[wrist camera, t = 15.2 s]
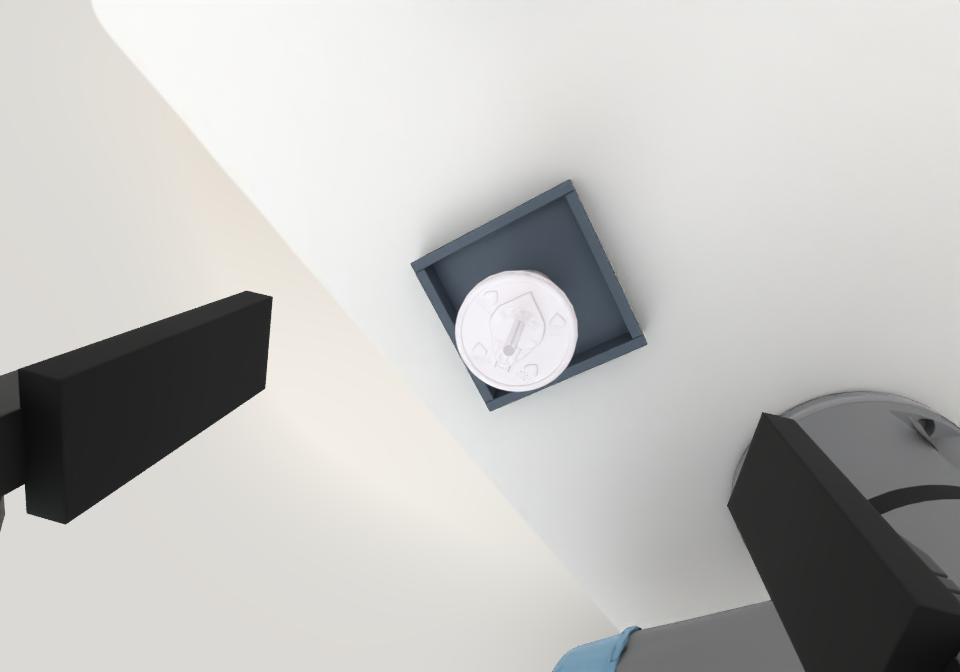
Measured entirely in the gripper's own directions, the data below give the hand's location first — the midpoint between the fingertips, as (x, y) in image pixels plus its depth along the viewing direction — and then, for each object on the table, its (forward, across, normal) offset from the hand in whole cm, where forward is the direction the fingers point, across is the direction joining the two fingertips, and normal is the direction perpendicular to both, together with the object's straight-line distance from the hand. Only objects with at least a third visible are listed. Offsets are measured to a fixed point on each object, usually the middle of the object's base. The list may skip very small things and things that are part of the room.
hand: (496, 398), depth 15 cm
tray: (+24, 0, +2) cm, 24 cm away
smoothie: (+24, 0, +2) cm, 24 cm away
